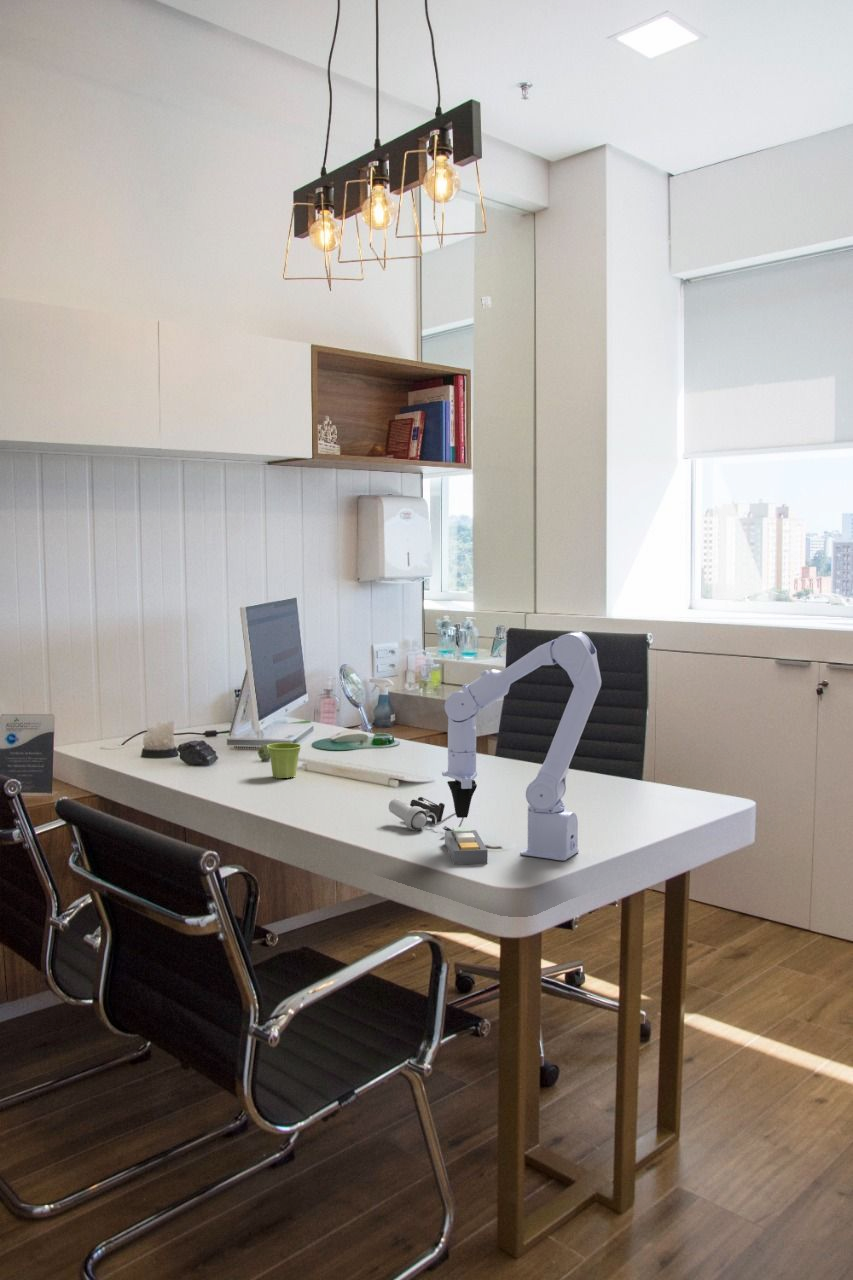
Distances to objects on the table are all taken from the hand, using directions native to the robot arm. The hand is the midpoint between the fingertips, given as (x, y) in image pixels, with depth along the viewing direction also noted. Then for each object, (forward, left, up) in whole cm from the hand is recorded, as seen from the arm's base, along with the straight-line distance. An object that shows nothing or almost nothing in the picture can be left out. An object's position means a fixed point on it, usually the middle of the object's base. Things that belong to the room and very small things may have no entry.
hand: (461, 816), depth 213 cm
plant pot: (+75, -40, -6) cm, 86 cm away
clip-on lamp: (+14, -11, -7) cm, 18 cm away
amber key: (-6, +8, -5) cm, 11 cm away
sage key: (0, 0, -4) cm, 4 cm away
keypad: (-3, +4, -6) cm, 8 cm away
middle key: (-3, +4, -4) cm, 7 cm away
